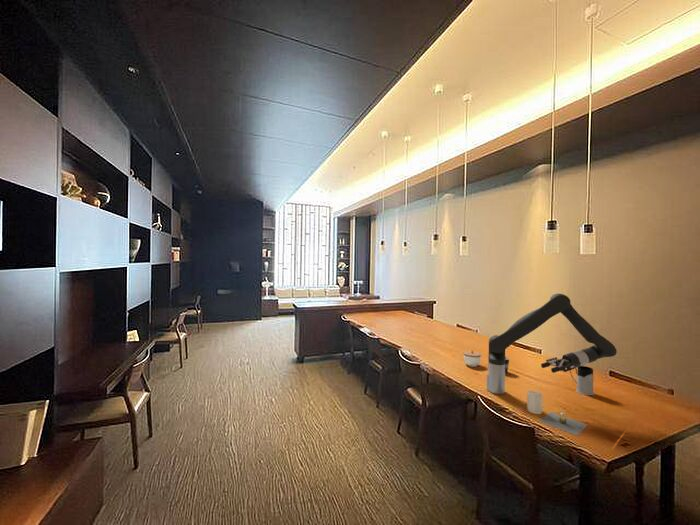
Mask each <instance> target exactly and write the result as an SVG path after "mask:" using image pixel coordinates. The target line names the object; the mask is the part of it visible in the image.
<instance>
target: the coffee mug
mask: <svg viewBox="0 0 700 525" xmlns="http://www.w3.org/2000/svg"><path fill="white" fill-rule="evenodd" d="M509 363H510V358H509V357H507V356H505V374H508V371H509Z"/></svg>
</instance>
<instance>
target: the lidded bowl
mask: <svg viewBox="0 0 700 525" xmlns="http://www.w3.org/2000/svg"><path fill="white" fill-rule="evenodd" d="M463 361H464V362H465V364H466V365H467V366H468V367H471V368H474V367H475V368H476V367H477V366H479V365H480V364H481V361H482V353H481V352H478V351H474V350H465V351H463Z"/></svg>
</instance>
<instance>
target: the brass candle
mask: <svg viewBox="0 0 700 525" xmlns="http://www.w3.org/2000/svg"><path fill="white" fill-rule="evenodd" d="M559 415H560V420H559V422H560V423H561V424H566V419H567V418H568V417H567V413H566V412H564V411H563V412H562V411H560V412H559Z"/></svg>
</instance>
